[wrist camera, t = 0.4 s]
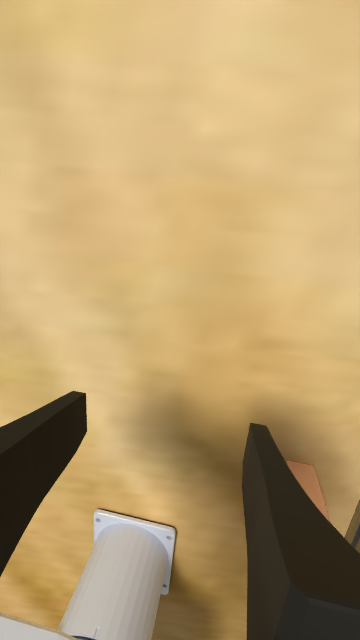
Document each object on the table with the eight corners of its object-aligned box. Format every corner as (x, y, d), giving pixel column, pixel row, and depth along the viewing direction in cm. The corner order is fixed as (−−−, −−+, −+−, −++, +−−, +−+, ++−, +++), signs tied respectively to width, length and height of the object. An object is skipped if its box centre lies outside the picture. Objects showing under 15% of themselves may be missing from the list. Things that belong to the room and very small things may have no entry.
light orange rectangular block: (296, 520, 26) (312, 605, 20) (272, 514, 26) (281, 596, 20) (313, 465, 24) (336, 543, 18) (287, 459, 24) (301, 535, 18)
